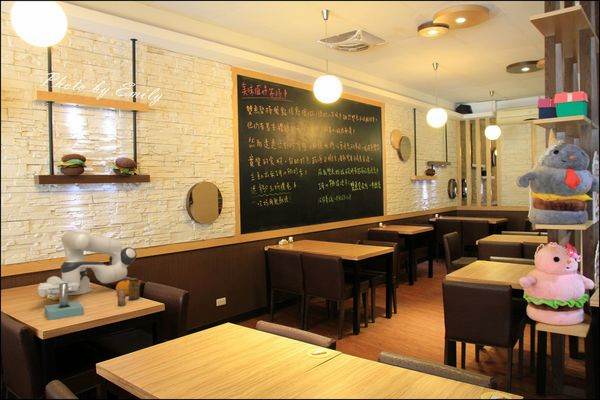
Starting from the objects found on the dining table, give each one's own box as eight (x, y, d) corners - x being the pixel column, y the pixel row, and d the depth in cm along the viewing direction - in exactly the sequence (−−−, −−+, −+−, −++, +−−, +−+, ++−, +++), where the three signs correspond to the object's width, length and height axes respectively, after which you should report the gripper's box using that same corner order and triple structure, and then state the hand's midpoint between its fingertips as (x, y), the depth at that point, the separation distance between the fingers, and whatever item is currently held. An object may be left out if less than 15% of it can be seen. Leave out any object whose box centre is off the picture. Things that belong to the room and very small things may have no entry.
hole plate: (44, 313, 233) (44, 305, 233) (78, 308, 243) (77, 301, 243) (48, 320, 220) (48, 312, 220) (83, 314, 230) (83, 307, 230)
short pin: (117, 305, 249) (116, 289, 249) (124, 304, 251) (124, 288, 251) (118, 306, 246) (118, 290, 246) (126, 305, 248) (126, 289, 248)
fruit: (111, 296, 271) (111, 279, 271) (124, 291, 282) (124, 276, 282) (126, 297, 267) (126, 281, 267) (139, 293, 279) (139, 277, 278)
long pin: (59, 313, 232) (58, 283, 232) (67, 312, 234) (67, 282, 234) (60, 315, 229) (59, 284, 228) (68, 314, 231) (68, 283, 231)
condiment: (137, 296, 269) (137, 277, 269) (142, 299, 262) (142, 279, 262) (125, 298, 264) (125, 278, 264) (130, 301, 258) (130, 281, 258)
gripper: (76, 289, 258) (81, 294, 247) (36, 294, 246) (38, 299, 235) (76, 279, 258) (80, 283, 247) (36, 283, 246) (38, 287, 235)
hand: (60, 291), depth 241 cm, fingers open, 8 cm apart
